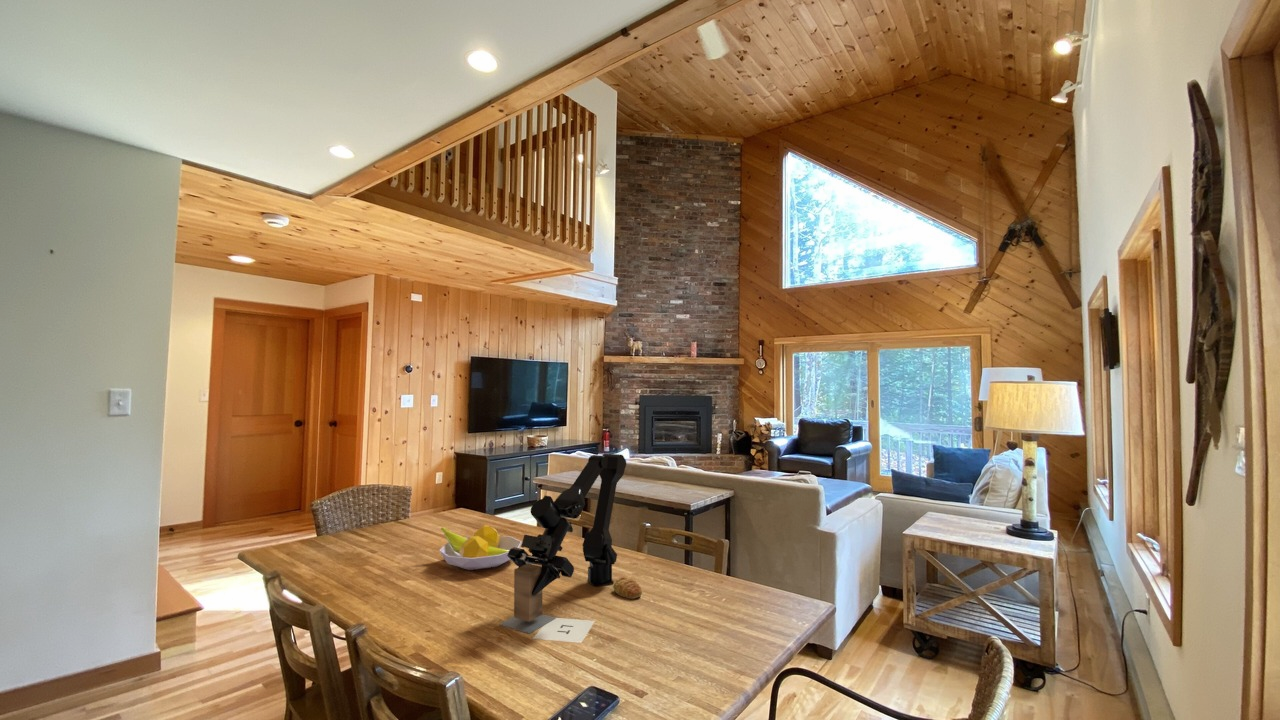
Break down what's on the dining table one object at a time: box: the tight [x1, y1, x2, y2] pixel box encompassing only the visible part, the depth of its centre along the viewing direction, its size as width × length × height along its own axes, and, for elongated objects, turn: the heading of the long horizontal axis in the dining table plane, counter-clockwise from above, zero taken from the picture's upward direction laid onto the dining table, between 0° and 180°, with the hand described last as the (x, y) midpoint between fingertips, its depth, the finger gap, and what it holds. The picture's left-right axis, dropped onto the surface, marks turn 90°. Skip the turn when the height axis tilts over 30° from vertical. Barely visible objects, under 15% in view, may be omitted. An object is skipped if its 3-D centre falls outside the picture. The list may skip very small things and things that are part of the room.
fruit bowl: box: [439, 524, 522, 571], centre depth 186 cm, size 28×27×11 cm
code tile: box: [532, 617, 596, 644], centre depth 134 cm, size 12×12×1 cm
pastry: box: [612, 576, 643, 600], centre depth 158 cm, size 9×7×4 cm
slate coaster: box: [498, 613, 557, 635], centre depth 138 cm, size 10×10×1 cm
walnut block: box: [513, 564, 543, 622], centre depth 139 cm, size 5×5×12 cm
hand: (524, 593), depth 137 cm, fingers closed on walnut block, 5 cm apart
